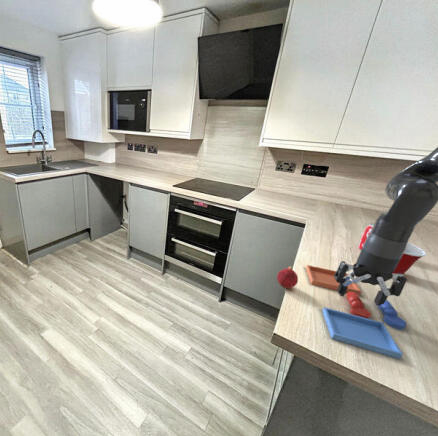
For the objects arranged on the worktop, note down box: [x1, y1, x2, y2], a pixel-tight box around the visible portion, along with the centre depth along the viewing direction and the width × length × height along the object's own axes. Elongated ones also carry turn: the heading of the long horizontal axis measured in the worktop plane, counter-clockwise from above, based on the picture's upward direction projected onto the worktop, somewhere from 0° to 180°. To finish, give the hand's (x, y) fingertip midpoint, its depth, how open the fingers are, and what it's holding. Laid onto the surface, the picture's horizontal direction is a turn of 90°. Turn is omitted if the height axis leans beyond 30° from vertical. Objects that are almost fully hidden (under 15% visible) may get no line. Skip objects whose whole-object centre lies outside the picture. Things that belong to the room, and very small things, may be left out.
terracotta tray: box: [305, 264, 362, 297], centre depth 81 cm, size 13×10×2 cm
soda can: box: [357, 223, 375, 251], centre depth 100 cm, size 7×7×12 cm
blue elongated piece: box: [376, 299, 408, 331], centre depth 66 cm, size 10×4×3 cm, turn 156°
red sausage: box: [345, 292, 372, 319], centre depth 69 cm, size 10×4×3 cm, turn 156°
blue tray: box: [322, 306, 404, 360], centre depth 61 cm, size 13×10×2 cm
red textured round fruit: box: [276, 266, 299, 289], centre depth 76 cm, size 6×6×8 cm
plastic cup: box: [392, 242, 427, 275], centre depth 84 cm, size 11×11×12 cm
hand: (358, 299), depth 68 cm, fingers open, 8 cm apart
